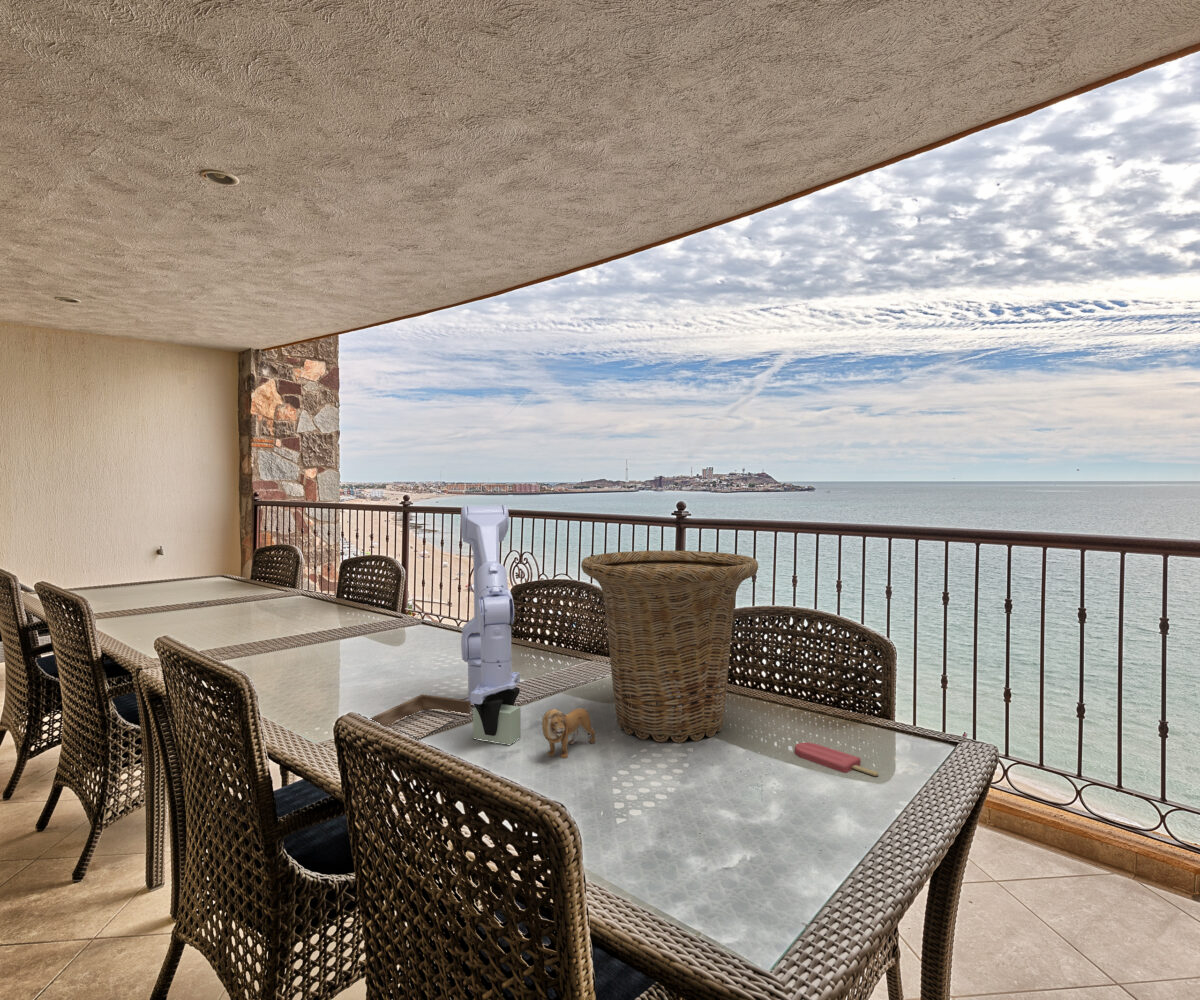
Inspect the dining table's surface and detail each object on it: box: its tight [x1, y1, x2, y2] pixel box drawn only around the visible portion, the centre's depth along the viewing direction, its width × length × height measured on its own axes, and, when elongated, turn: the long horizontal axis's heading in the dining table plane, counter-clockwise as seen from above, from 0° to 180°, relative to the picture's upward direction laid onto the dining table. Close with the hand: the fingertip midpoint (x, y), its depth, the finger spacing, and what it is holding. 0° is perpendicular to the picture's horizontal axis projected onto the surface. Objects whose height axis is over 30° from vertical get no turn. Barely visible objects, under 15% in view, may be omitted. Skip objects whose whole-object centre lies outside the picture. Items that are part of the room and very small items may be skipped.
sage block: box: [472, 704, 522, 745], centre depth 125 cm, size 4×8×6 cm, turn 68°
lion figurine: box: [541, 707, 596, 759], centre depth 120 cm, size 15×5×9 cm, turn 152°
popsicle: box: [794, 742, 879, 777], centre depth 114 cm, size 5×2×15 cm
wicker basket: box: [580, 550, 759, 744], centre depth 133 cm, size 35×35×33 cm
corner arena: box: [369, 693, 472, 740], centre depth 134 cm, size 16×12×3 cm
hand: (496, 730), depth 125 cm, fingers closed on sage block, 4 cm apart
